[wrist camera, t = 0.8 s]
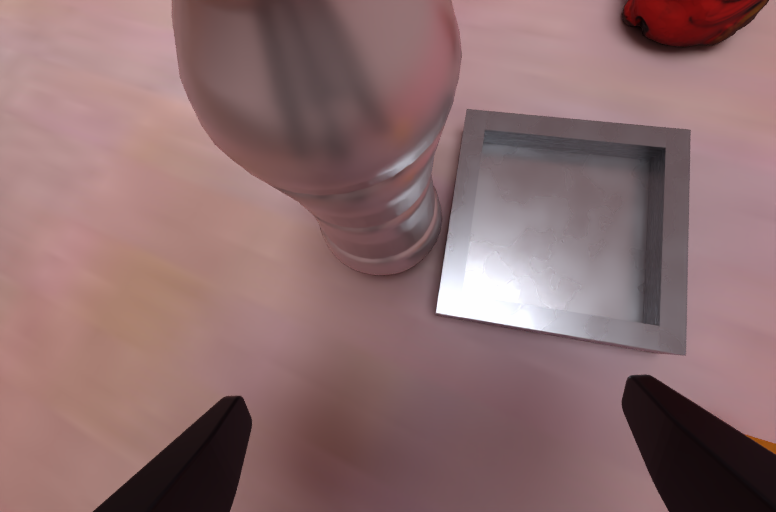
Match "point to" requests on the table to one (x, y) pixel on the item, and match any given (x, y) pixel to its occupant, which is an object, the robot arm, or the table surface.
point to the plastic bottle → (331, 110)
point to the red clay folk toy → (690, 19)
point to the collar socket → (570, 230)
